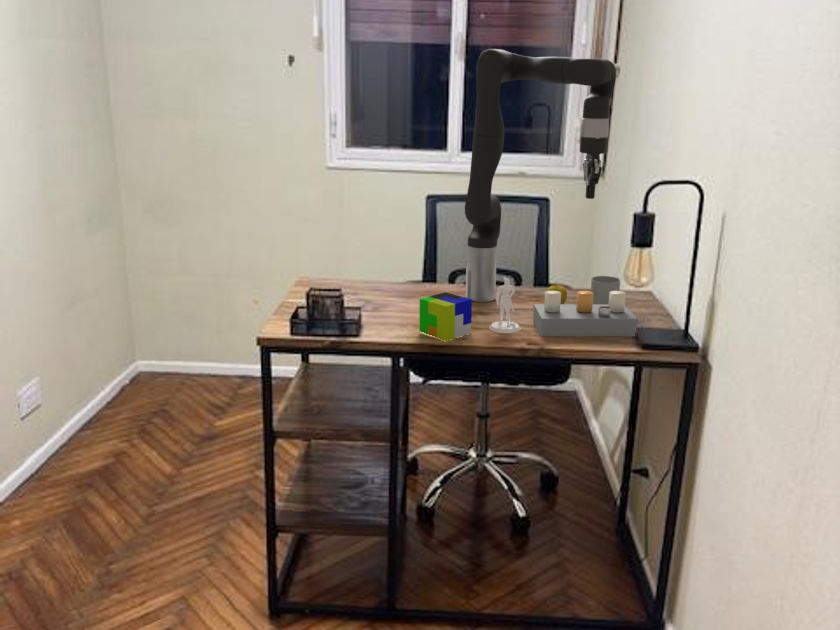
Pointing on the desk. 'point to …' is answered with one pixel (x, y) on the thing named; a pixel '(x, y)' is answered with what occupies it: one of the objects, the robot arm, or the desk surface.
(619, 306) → the knob right
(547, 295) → the knob left
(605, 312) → the dial
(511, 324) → the figurine
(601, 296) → the cup
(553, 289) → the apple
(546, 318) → the panel
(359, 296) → the desk surface
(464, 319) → the puzzle toy
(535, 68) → the robot arm
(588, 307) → the knob middle
